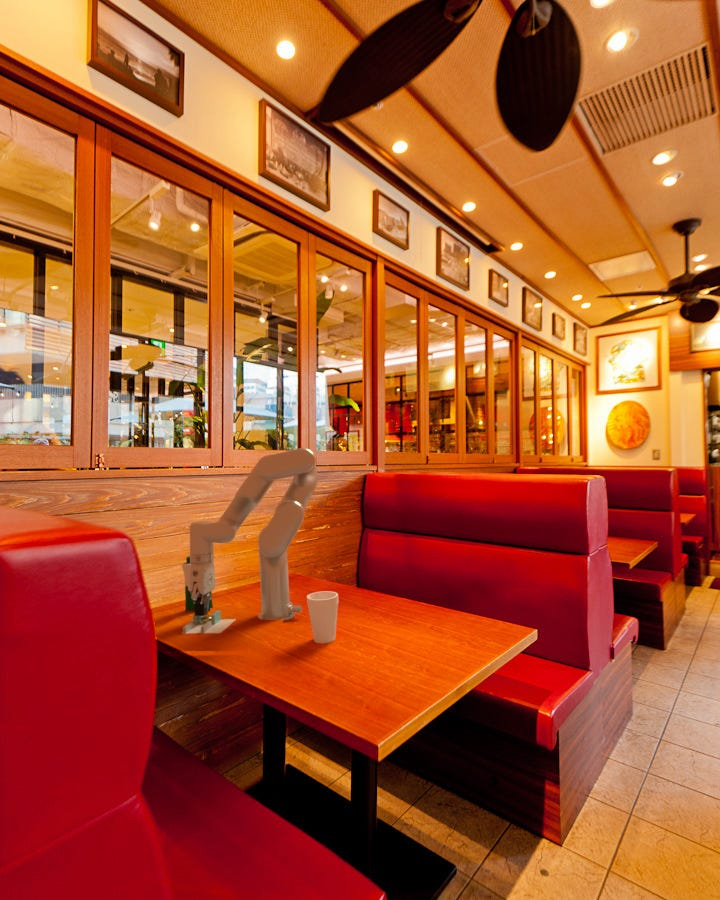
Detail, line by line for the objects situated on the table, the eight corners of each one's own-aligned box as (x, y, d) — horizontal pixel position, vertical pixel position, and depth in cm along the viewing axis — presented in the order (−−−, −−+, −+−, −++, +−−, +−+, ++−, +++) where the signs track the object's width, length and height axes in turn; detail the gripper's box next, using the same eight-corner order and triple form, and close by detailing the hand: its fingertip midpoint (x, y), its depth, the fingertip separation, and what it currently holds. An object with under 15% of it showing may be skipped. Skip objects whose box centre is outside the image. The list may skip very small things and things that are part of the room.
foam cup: (346, 636, 149) (344, 593, 149) (329, 647, 141) (326, 601, 141) (320, 632, 154) (318, 590, 154) (302, 642, 146) (300, 598, 146)
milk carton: (196, 606, 189) (194, 554, 189) (216, 607, 186) (214, 554, 186) (181, 613, 180) (178, 559, 181) (202, 615, 178) (199, 559, 178)
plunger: (215, 617, 167) (215, 615, 167) (210, 621, 163) (210, 619, 163) (204, 617, 168) (203, 615, 168) (198, 621, 164) (198, 619, 164)
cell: (209, 612, 167) (211, 590, 167) (205, 616, 163) (207, 593, 163) (199, 611, 167) (201, 589, 167) (194, 614, 164) (197, 592, 164)
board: (236, 622, 167) (235, 610, 167) (220, 636, 154) (220, 623, 154) (199, 623, 168) (198, 610, 169) (181, 637, 156) (180, 623, 156)
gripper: (201, 563, 157) (202, 621, 157) (222, 553, 174) (223, 606, 173) (179, 563, 158) (179, 621, 158) (202, 553, 175) (202, 606, 174)
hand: (202, 612), depth 165 cm, fingers closed on cell, 3 cm apart
